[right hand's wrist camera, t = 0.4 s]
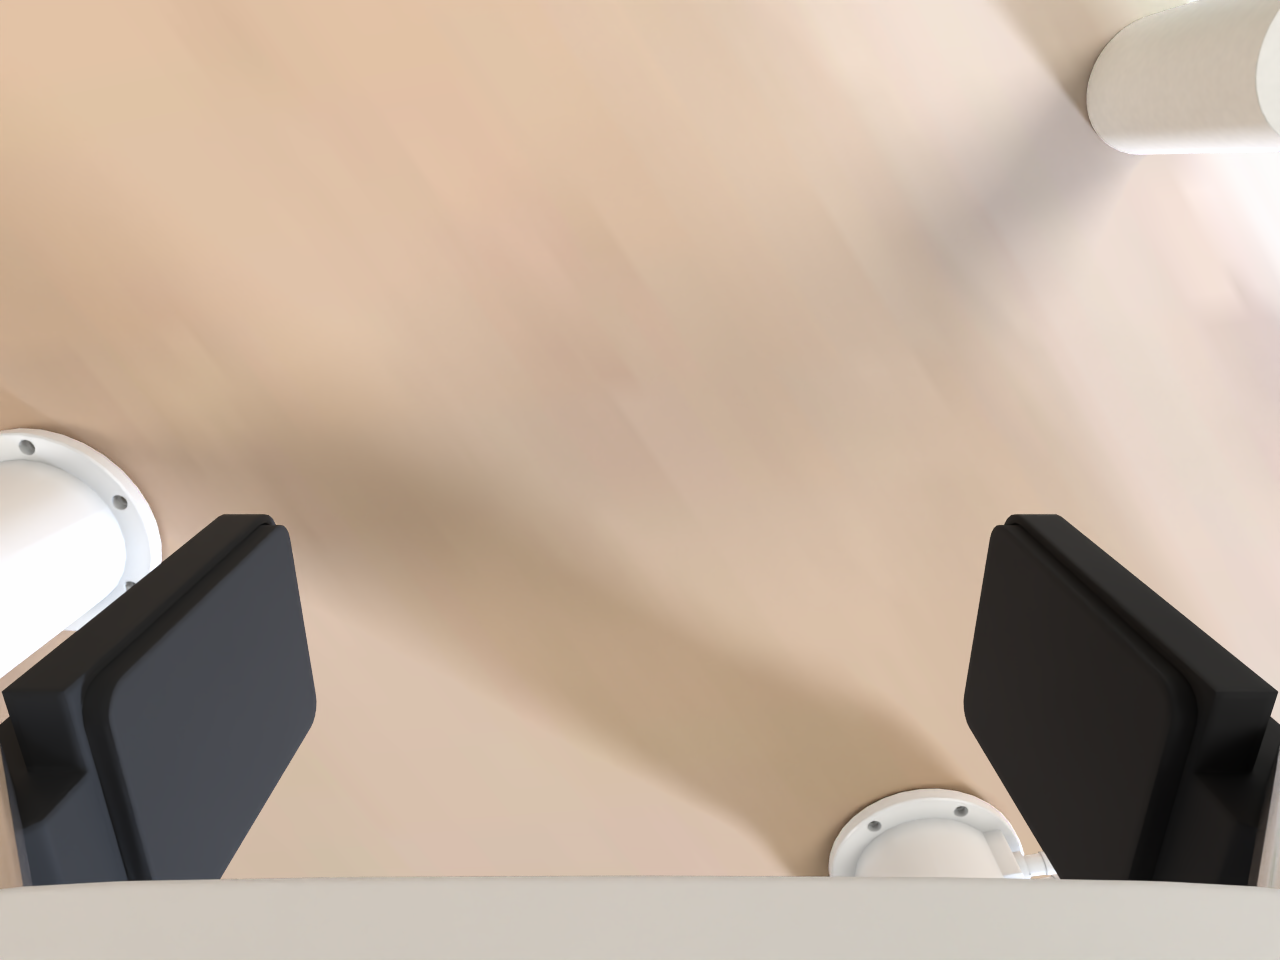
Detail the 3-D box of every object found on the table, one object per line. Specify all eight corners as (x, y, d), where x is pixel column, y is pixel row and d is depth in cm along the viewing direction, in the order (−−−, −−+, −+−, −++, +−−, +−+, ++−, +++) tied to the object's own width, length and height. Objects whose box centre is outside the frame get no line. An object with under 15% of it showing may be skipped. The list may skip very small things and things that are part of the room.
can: (1246, 73, 37) (1487, 36, 26) (1142, 181, 39) (1326, 188, 28) (1162, -19, 36) (1377, -98, 25) (1058, 96, 38) (1217, 69, 27)
